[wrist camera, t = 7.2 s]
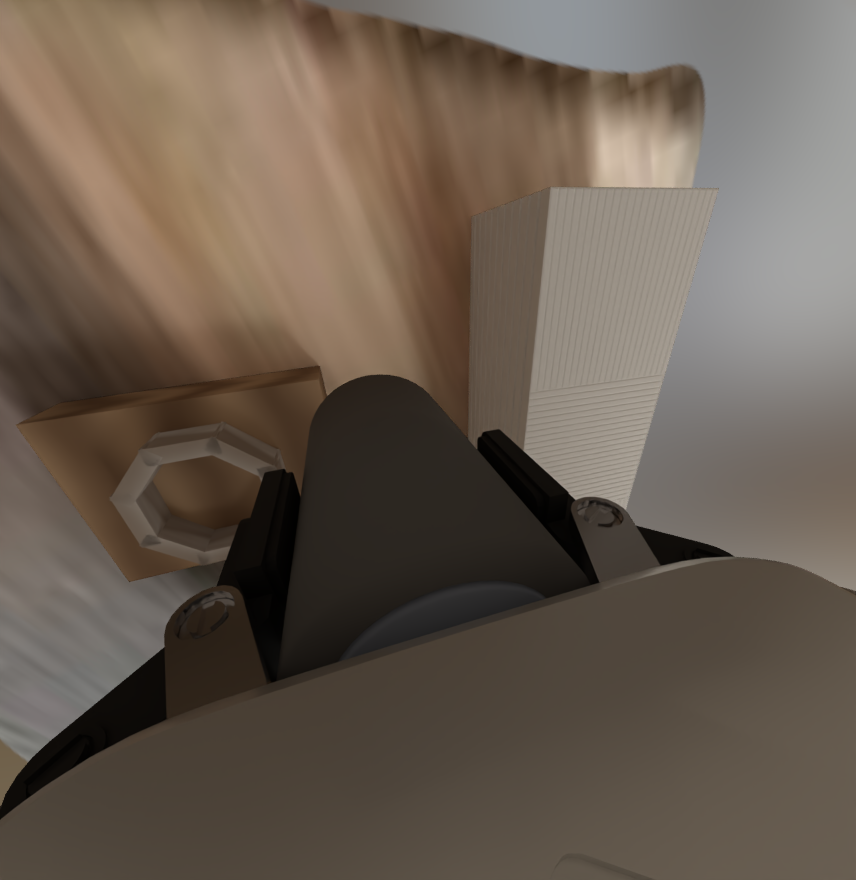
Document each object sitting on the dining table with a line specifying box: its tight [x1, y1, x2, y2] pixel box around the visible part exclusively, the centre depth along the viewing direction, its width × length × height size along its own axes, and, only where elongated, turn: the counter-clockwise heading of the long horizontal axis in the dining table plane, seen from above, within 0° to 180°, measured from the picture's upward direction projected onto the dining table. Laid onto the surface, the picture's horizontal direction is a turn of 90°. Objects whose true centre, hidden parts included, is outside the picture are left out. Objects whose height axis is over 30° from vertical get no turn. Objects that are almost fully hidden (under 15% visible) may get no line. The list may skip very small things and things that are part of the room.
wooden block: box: [16, 366, 327, 582], centre depth 26 cm, size 18×14×6 cm
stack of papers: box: [468, 187, 719, 510], centre depth 30 cm, size 32×11×11 cm, turn 2°
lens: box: [276, 375, 591, 681], centre depth 10 cm, size 6×6×10 cm
